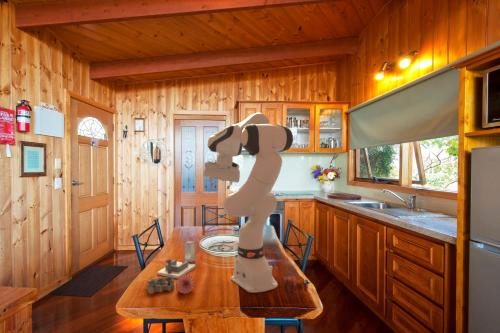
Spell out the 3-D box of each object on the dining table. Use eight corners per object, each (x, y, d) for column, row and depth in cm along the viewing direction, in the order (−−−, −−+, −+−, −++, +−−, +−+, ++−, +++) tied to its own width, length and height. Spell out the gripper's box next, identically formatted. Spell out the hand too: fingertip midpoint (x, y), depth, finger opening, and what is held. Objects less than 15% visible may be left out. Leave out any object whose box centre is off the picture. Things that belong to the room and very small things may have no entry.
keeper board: (175, 263, 135) (175, 248, 135) (195, 267, 131) (195, 251, 131) (155, 275, 121) (155, 258, 121) (177, 279, 117) (177, 262, 117)
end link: (194, 260, 140) (194, 241, 140) (190, 262, 137) (190, 243, 137) (188, 259, 141) (188, 241, 141) (184, 261, 138) (184, 243, 138)
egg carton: (146, 295, 104) (146, 285, 104) (147, 286, 111) (147, 277, 111) (174, 291, 107) (174, 281, 107) (173, 283, 114) (173, 273, 114)
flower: (175, 273, 110) (180, 269, 106) (193, 278, 113) (198, 274, 109) (170, 293, 104) (175, 290, 101) (189, 298, 107) (194, 295, 104)
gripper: (205, 159, 144) (200, 183, 141) (242, 165, 146) (237, 190, 143) (205, 161, 150) (201, 185, 147) (241, 167, 152) (236, 191, 149)
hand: (219, 187), depth 145 cm, fingers open, 8 cm apart
